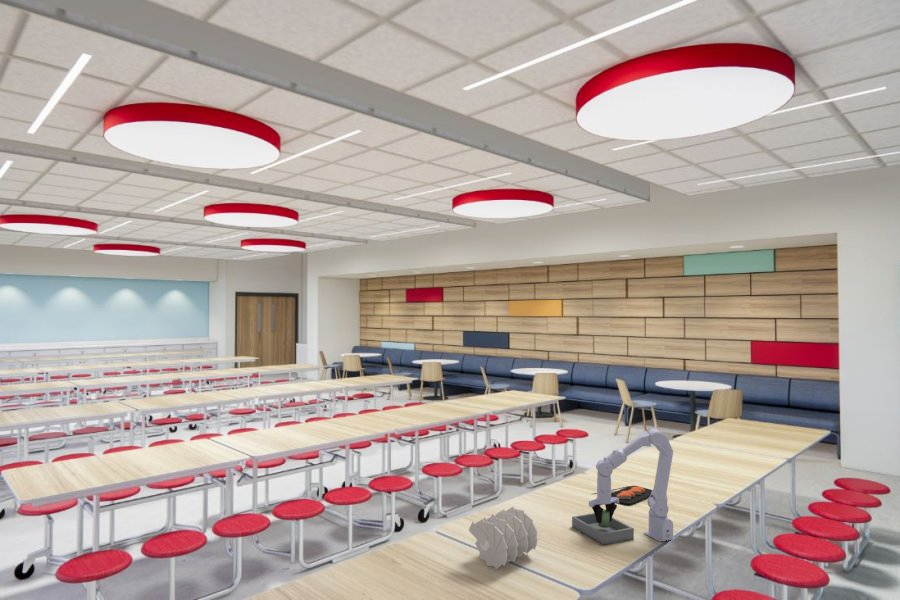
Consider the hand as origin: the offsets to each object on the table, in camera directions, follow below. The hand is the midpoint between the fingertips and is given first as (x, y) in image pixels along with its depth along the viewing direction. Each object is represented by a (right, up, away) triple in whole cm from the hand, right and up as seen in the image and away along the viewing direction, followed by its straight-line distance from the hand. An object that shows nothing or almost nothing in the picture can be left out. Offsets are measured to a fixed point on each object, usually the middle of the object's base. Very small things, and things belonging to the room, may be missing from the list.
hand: (603, 521), depth 227 cm
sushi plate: (+22, -7, +52) cm, 57 cm away
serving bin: (-1, -5, -1) cm, 5 cm away
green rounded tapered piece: (0, -2, 0) cm, 2 cm away
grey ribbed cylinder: (-44, -4, -26) cm, 52 cm away
